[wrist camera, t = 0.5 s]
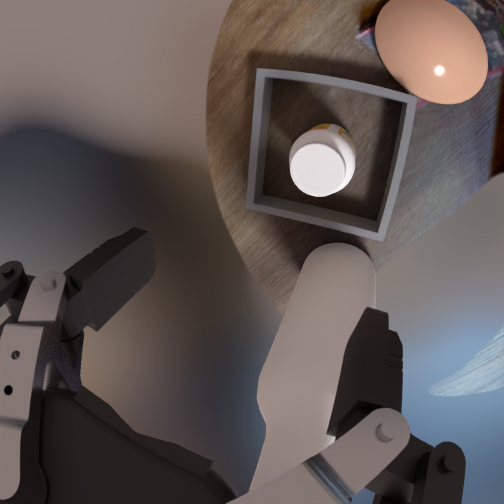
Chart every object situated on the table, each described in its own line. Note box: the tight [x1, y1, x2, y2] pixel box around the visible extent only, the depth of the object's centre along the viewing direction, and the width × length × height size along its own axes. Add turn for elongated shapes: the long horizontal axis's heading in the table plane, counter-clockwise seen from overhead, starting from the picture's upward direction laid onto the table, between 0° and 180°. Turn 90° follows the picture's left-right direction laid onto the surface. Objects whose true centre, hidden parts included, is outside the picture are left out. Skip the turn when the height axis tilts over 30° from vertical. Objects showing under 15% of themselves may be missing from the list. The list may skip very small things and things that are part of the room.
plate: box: [375, 0, 488, 104], centre depth 18 cm, size 12×12×1 cm
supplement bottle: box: [289, 123, 355, 197], centre depth 23 cm, size 5×5×10 cm
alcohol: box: [248, 243, 376, 493], centre depth 22 cm, size 9×9×30 cm
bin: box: [246, 68, 417, 242], centre depth 26 cm, size 15×15×3 cm
